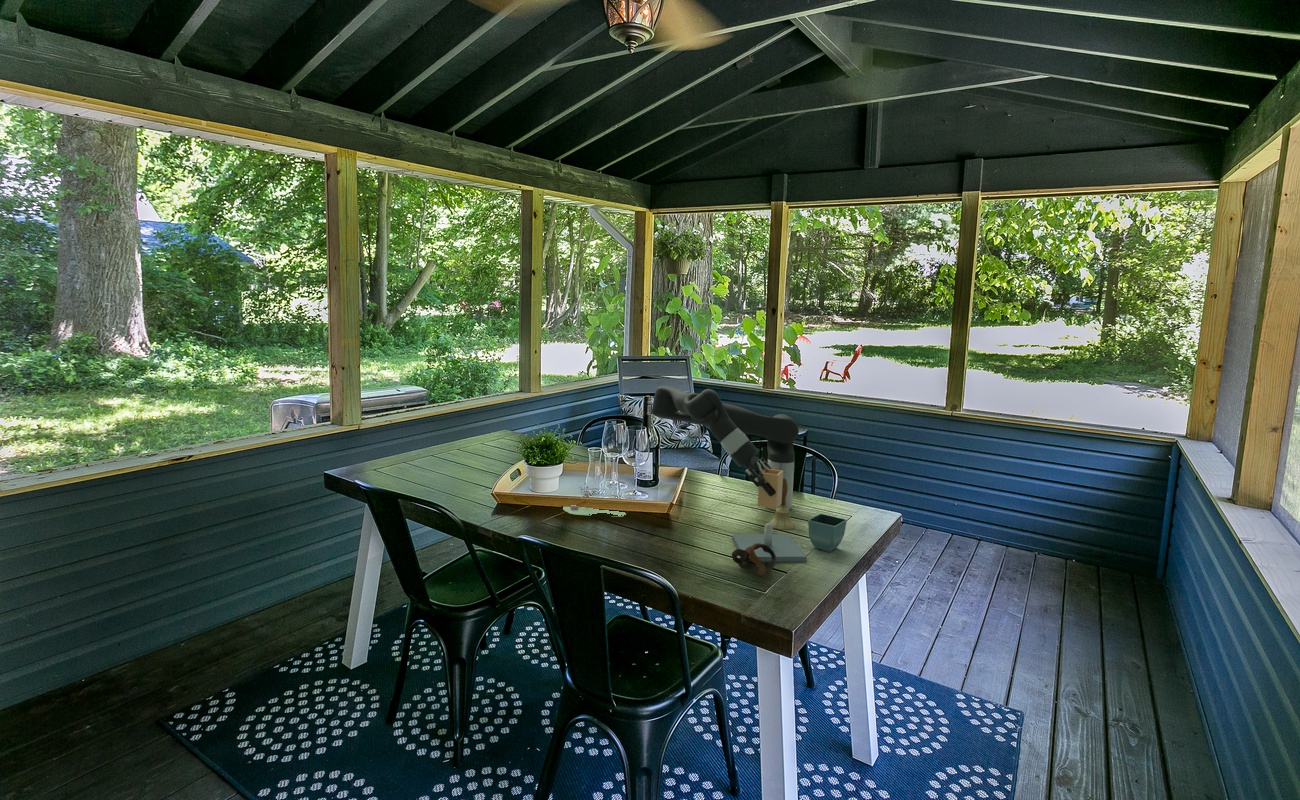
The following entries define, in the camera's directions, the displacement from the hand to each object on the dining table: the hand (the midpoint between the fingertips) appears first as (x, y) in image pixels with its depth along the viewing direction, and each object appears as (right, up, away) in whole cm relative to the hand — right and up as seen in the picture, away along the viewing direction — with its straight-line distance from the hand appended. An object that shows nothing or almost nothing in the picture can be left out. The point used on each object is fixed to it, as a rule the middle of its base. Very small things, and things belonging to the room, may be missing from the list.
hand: (776, 491), depth 194 cm
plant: (-56, -12, +39) cm, 69 cm away
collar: (-2, -4, +1) cm, 5 cm away
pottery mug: (-9, -20, -11) cm, 24 cm away
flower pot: (+16, -18, +6) cm, 25 cm away
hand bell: (+7, -15, +25) cm, 30 cm away
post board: (-2, -18, +4) cm, 18 cm away
